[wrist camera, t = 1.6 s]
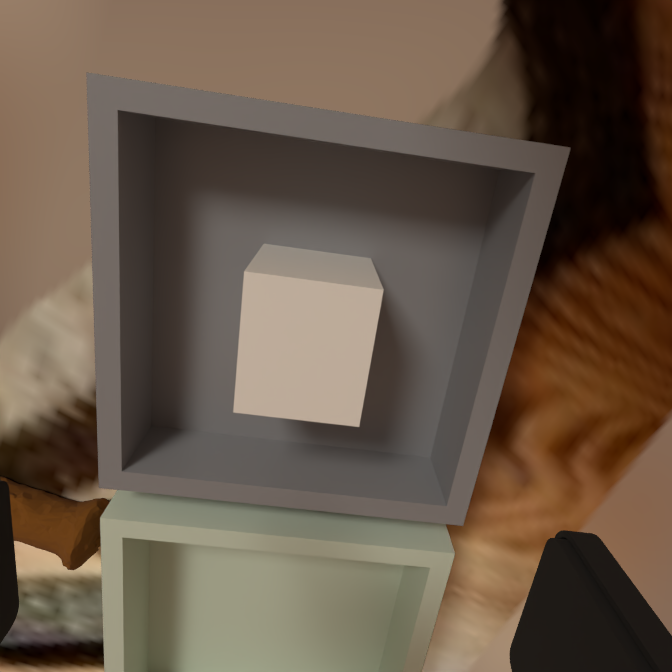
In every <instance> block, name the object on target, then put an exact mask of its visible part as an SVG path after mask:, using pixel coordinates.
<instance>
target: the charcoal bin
mask: <svg viewBox="0 0 672 672" xmlns="http://www.w3.org/2000/svg"><path fill="white" fill-rule="evenodd" d="M87 104H88V137H89V171H90V205H91V238H92V271H93V304H94V337H95V370H96V403H97V437H98V470H99V488H105V489H114V490H124V491H134V492H143V493H153V494H162V495H172V496H181V497H191V498H201V499H210V500H220V501H229V502H239V503H248V504H258V505H268V506H277V507H287V508H296V509H306V510H315V511H325V512H335V513H344V514H354V515H363V516H373V517H382V518H392V519H401V520H411V521H421V522H430V523H440V524H449V525H459V526H463V524H464V521H465V517H466V514H467V510H468V507H469V503H470V500H471V496H472V493H473V489H474V486H475V482H476V479H477V475H478V472H479V468H480V465H481V461H482V458H483V454H484V451H485V447H486V444H487V440H488V437H489V433H490V430H491V426H492V423H493V419H494V415H495V412H496V408H497V405H498V401H499V398H500V394H501V391H502V387H503V384H504V380H505V377H506V373H507V370H508V366H509V363H510V359H511V356H512V352H513V349H514V345H515V342H516V338H517V335H518V331H519V328H520V324H521V321H522V317H523V314H524V310H525V307H526V303H527V300H528V296H529V293H530V289H531V286H532V282H533V279H534V275H535V272H536V268H537V264H538V261H539V257H540V254H541V250H542V247H543V243H544V240H545V236H546V233H547V229H548V226H549V222H550V219H551V215H552V212H553V208H554V205H555V201H556V198H557V194H558V191H559V187H560V184H561V180H562V177H563V173H564V170H565V166H566V163H567V159H568V156H569V152H570V149H571V148H570V147H564V146H557V145H551V144H544V143H538V142H531V141H525V140H518V139H512V138H506V137H499V136H493V135H486V134H480V133H473V132H467V131H460V130H454V129H448V128H441V127H435V126H428V125H422V124H415V123H409V122H403V121H396V120H390V119H383V118H377V117H370V116H363V115H357V114H350V113H345V112H338V111H332V110H325V109H319V108H312V107H306V106H299V105H293V104H287V103H280V102H274V101H267V100H261V99H254V98H248V97H242V96H235V95H229V94H222V93H215V92H209V91H203V90H196V89H189V88H184V87H177V86H171V85H164V84H157V83H151V82H145V81H139V80H132V79H125V78H118V77H113V76H106V75H99V74H93V73H87ZM263 244H270V245H278V246H285V247H292V248H299V249H307V250H314V251H321V252H329V253H336V254H343V255H350V256H358V257H365V258H371V260H372V262H373V265H374V267H375V270H376V272H377V275H378V277H379V280H380V282H381V285H382V287H383V289H384V291H383V296H382V302H381V308H380V313H379V319H378V324H377V330H376V335H375V341H374V347H373V352H372V358H371V363H370V369H369V374H368V380H367V386H366V391H365V397H364V402H363V408H362V414H361V419H360V425H359V427H355V426H346V425H337V424H329V423H320V422H311V421H303V420H294V419H286V418H277V417H268V416H260V415H251V414H242V413H234V412H233V408H234V395H235V382H236V369H237V357H238V344H239V331H240V318H241V305H242V292H243V279H244V271H245V269H246V268H247V267H248V265H249V264H250V262H251V261H252V260H253V258H254V257H255V255H256V254H257V253H258V251H259V250H260V248H261V247H262V246H263Z"/></svg>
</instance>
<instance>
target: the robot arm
mask: <svg viewBox="0 0 672 672" xmlns="http://www.w3.org/2000/svg"><path fill="white" fill-rule="evenodd" d="M18 608H19V597H18V585H17V573H16V562H15V550H14V539H13V527H12V515H11V504H10V492H9V486H8V484H7V482H5V481H1V479H0V643H1V642H2V640H3V639H4V637H5V636H6V634H7V633H8V631H9V630H10V628H11V627H12V625H13V623H14V621H15V619H16V616H17V613H18ZM510 664H511V669H512V672H672V636H671V634H670V633H669V632H668V631H667V629H666V627H665V626H664V625H663V623H662V622H661V621H660V619H659V618H658V617H657V615H656V614H655V613H654V611H653V610H652V608H651V607H650V606H649V604H648V603H647V602H646V600H645V599H644V598H643V596H642V595H641V594H640V592H639V591H638V589H637V588H636V587H635V585H634V584H633V583H632V581H631V580H630V579H629V577H628V576H627V574H626V573H625V572H624V571H623V569H622V568H621V566H620V565H619V564H618V562H617V561H616V560H615V558H614V557H613V555H612V554H611V553H610V551H609V550H608V549H607V547H606V546H605V545H604V543H603V542H602V541H601V539H600V538H599V537H598V536H597V535H595V534H592V533H583V532H573V531H560V532H558V533H557V534H556V536H555V538H550V539H549V540H548V541H547V543H546V545H545V548H544V551H543V554H542V556H541V559H540V562H539V565H538V568H537V571H536V574H535V577H534V580H533V583H532V586H531V589H530V592H529V595H528V598H527V600H526V603H525V606H524V609H523V612H522V615H521V618H520V621H519V624H518V627H517V630H516V633H515V636H514V639H513V642H512V644H511V648H510Z"/></svg>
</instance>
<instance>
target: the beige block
mask: <svg viewBox="0 0 672 672" xmlns="http://www.w3.org/2000/svg"><path fill="white" fill-rule="evenodd" d="M383 291H384V289H383V287H382V285H381V282H380V280H379V277H378V275H377V272H376V270H375V267H374V265H373V262H372V260H371V258H365V257H358V256H350V255H343V254H336V253H329V252H321V251H314V250H307V249H299V248H292V247H285V246H278V245H270V244H263V246H262V247H261V248H260V250H259V251H258V253H257V254H256V255H255V257H254V258H253V260H252V261H251V262H250V264H249V265H248V267H247V268H246V269H245V271H244V279H243V292H242V305H241V318H240V331H239V344H238V357H237V369H236V382H235V395H234V408H233V412H234V413H242V414H251V415H260V416H268V417H277V418H286V419H294V420H303V421H311V422H320V423H329V424H337V425H346V426H355V427H359V425H360V419H361V414H362V408H363V402H364V397H365V391H366V386H367V380H368V374H369V369H370V363H371V358H372V352H373V347H374V341H375V335H376V330H377V324H378V319H379V313H380V308H381V302H382V296H383Z"/></svg>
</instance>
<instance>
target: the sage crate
mask: <svg viewBox="0 0 672 672" xmlns="http://www.w3.org/2000/svg"><path fill="white" fill-rule="evenodd" d="M100 536H101V569H102V602H103V635H104V668H105V672H422V668H423V665H424V661H425V658H426V654H427V651H428V647H429V644H430V640H431V637H432V633H433V630H434V626H435V623H436V619H437V616H438V612H439V609H440V605H441V602H442V598H443V595H444V591H445V588H446V584H447V581H448V577H449V574H450V570H451V566H452V563H453V559H454V556H455V552H454V549H453V545H452V542H451V539H450V536H449V533H448V530H447V526H446V524H440V523H430V522H421V521H411V520H401V519H392V518H382V517H373V516H363V515H354V514H344V513H335V512H325V511H315V510H306V509H296V508H287V507H277V506H268V505H258V504H248V503H239V502H229V501H220V500H210V499H201V498H191V497H181V496H172V495H162V494H153V493H143V492H134V491H124V490H117V492H116V493H115V495H114V496H113V498H112V499H111V501H110V503H109V504H108V506H107V507H106V509H105V511H104V512H103V514H102V515H101V517H100Z"/></svg>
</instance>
